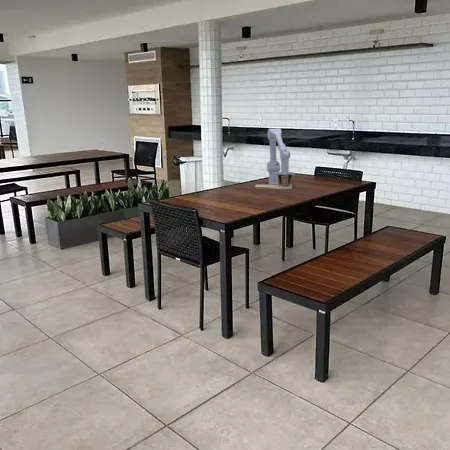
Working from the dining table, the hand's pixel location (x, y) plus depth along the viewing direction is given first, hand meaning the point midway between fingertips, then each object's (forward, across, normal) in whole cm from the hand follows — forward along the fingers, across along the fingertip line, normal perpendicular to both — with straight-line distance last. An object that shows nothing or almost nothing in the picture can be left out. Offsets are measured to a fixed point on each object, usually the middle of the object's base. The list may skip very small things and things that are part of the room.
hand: (284, 184), depth 366 cm
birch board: (+2, -9, 0) cm, 9 cm away
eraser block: (+1, 0, 0) cm, 1 cm away
